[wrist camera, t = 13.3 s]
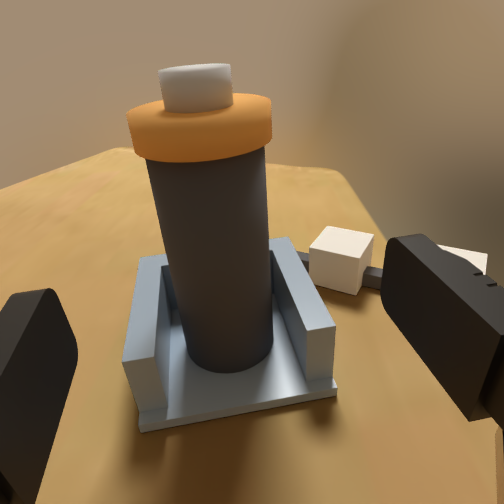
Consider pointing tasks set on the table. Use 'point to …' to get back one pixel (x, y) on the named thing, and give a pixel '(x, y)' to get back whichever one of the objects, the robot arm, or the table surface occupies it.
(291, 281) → the end holder
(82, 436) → the table surface
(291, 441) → the table surface
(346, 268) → the routed cable
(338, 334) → the table surface
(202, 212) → the grey and orange bottle
